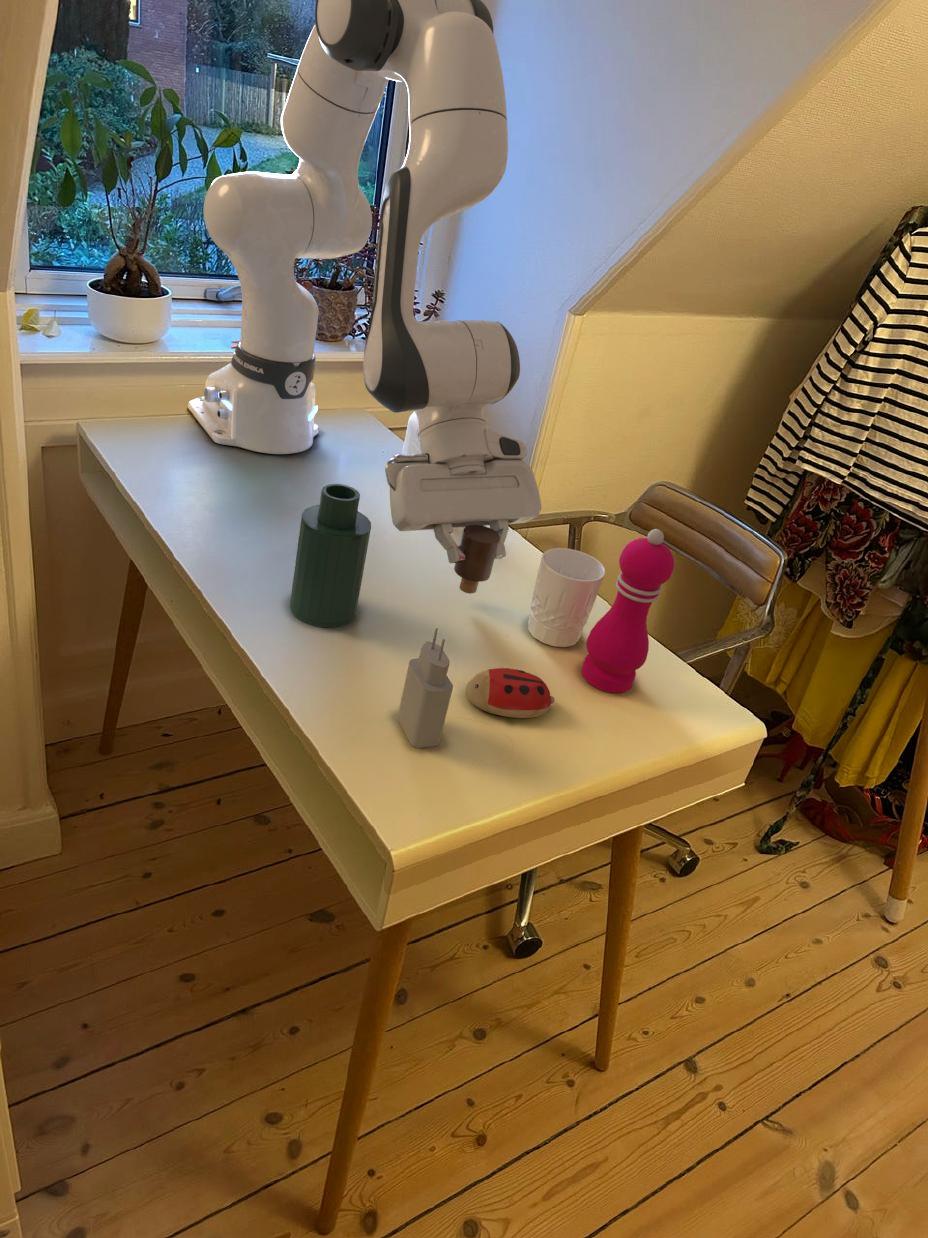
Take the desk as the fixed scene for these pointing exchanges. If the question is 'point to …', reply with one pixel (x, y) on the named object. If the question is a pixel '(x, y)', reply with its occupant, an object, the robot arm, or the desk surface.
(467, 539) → the stopper
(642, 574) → the pepper mill
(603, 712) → the desk surface
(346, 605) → the bottle
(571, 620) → the white cup
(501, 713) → the ladybug figurine
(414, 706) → the power adapter
